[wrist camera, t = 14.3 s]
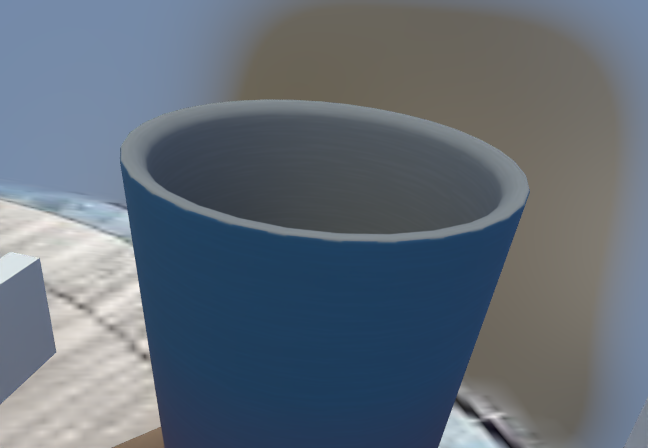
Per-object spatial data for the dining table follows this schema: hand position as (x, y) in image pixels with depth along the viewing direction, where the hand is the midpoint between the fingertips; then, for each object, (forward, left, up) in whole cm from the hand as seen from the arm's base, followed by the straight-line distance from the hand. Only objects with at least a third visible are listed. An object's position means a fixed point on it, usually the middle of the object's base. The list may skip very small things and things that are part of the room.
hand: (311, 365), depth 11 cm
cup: (0, 0, -10) cm, 10 cm away
